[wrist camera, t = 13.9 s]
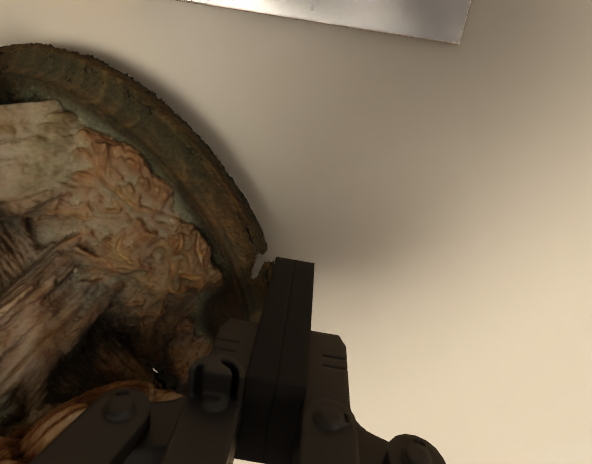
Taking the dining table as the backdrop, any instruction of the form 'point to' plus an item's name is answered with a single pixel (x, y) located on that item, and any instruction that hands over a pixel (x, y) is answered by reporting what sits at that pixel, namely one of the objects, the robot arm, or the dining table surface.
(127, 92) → the beige stone figure
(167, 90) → the dining table surface
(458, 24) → the yellow handled chisel
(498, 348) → the dining table surface
